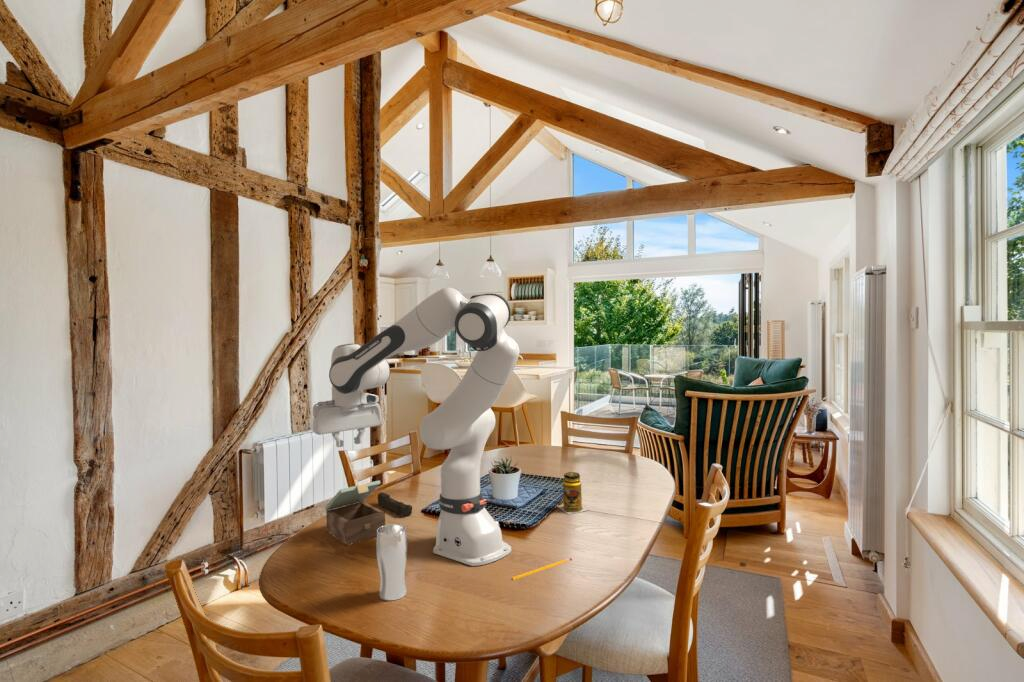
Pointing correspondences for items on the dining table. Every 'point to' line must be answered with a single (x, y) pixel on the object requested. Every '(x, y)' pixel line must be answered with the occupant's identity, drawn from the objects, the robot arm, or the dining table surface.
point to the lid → (352, 495)
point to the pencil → (541, 569)
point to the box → (355, 522)
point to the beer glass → (392, 560)
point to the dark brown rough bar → (394, 505)
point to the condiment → (572, 493)
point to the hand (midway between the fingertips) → (348, 445)
